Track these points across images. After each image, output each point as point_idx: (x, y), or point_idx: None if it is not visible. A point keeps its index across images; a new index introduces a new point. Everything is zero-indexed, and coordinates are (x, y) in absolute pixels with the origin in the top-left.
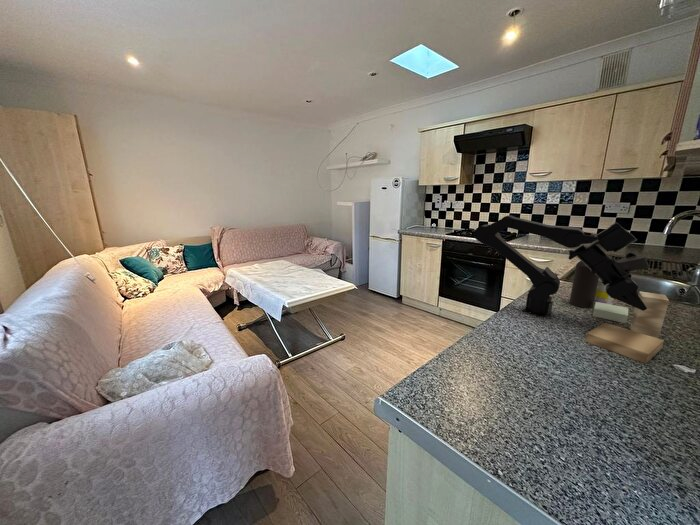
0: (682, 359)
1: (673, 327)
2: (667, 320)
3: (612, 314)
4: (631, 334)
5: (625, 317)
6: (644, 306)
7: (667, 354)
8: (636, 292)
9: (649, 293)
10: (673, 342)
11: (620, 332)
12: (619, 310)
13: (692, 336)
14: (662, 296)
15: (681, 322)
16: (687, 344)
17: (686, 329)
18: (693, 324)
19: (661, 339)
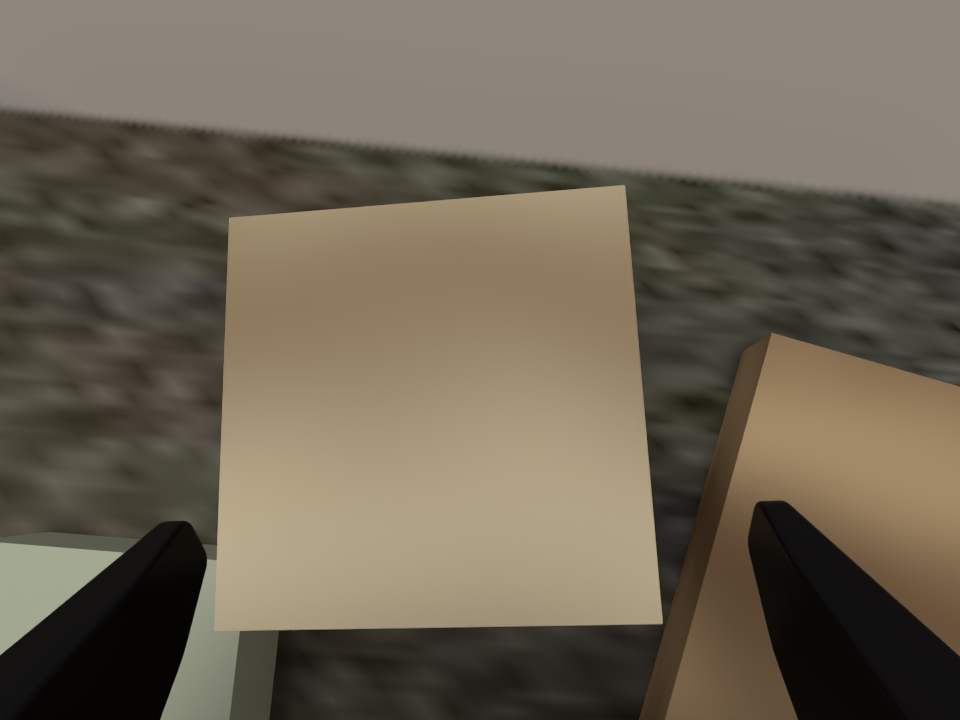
0: (858, 250)
1: (166, 233)
2: (15, 253)
3: (244, 693)
4: None
5: None
6: (826, 550)
7: (836, 327)
8: (108, 628)
9: (278, 454)
10: None
11: None
12: None
13: (296, 146)
14: (384, 261)
15: (11, 175)
16: (500, 191)
17: (159, 163)
18: (14, 114)
19: (767, 350)
